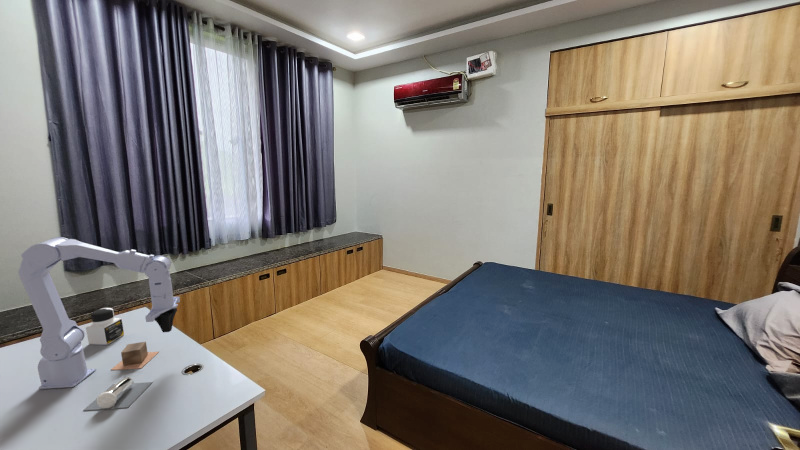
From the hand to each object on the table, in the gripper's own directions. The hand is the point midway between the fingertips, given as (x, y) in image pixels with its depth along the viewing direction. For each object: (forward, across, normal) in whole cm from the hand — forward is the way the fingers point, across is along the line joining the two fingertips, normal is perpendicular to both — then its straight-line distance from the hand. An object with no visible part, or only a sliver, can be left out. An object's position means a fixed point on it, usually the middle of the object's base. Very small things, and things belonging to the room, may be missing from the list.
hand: (167, 331), depth 104 cm
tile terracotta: (+10, 0, +11) cm, 15 cm away
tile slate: (+10, -17, +4) cm, 20 cm away
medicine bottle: (+11, +15, +31) cm, 36 cm away
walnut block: (+10, 0, +11) cm, 15 cm away
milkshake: (+9, -13, +4) cm, 17 cm away
